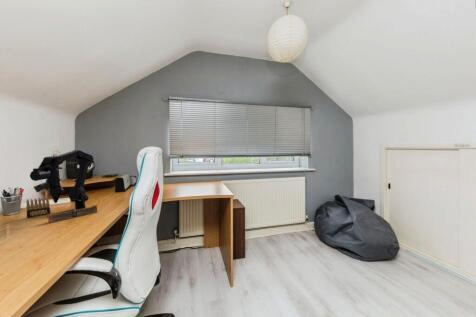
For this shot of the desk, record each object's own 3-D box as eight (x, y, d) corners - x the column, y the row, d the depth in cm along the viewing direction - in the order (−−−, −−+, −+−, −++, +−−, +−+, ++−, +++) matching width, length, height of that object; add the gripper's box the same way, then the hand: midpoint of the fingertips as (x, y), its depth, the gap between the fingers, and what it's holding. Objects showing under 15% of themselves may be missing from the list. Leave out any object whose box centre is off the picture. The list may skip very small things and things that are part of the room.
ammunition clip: (26, 218, 121) (24, 199, 120) (27, 217, 122) (25, 199, 121) (50, 214, 127) (48, 196, 126) (50, 213, 129) (49, 196, 128)
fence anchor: (72, 217, 121) (71, 209, 121) (96, 211, 130) (95, 204, 130) (73, 217, 120) (72, 210, 119) (97, 212, 129) (96, 205, 129)
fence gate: (48, 222, 113) (48, 214, 113) (72, 217, 121) (71, 210, 121) (49, 223, 112) (48, 215, 111) (72, 217, 120) (72, 210, 119)
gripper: (32, 177, 117) (35, 203, 119) (35, 181, 105) (38, 209, 106) (57, 175, 126) (59, 198, 127) (62, 178, 114) (65, 204, 115)
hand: (55, 202), depth 119 cm, fingers closed
